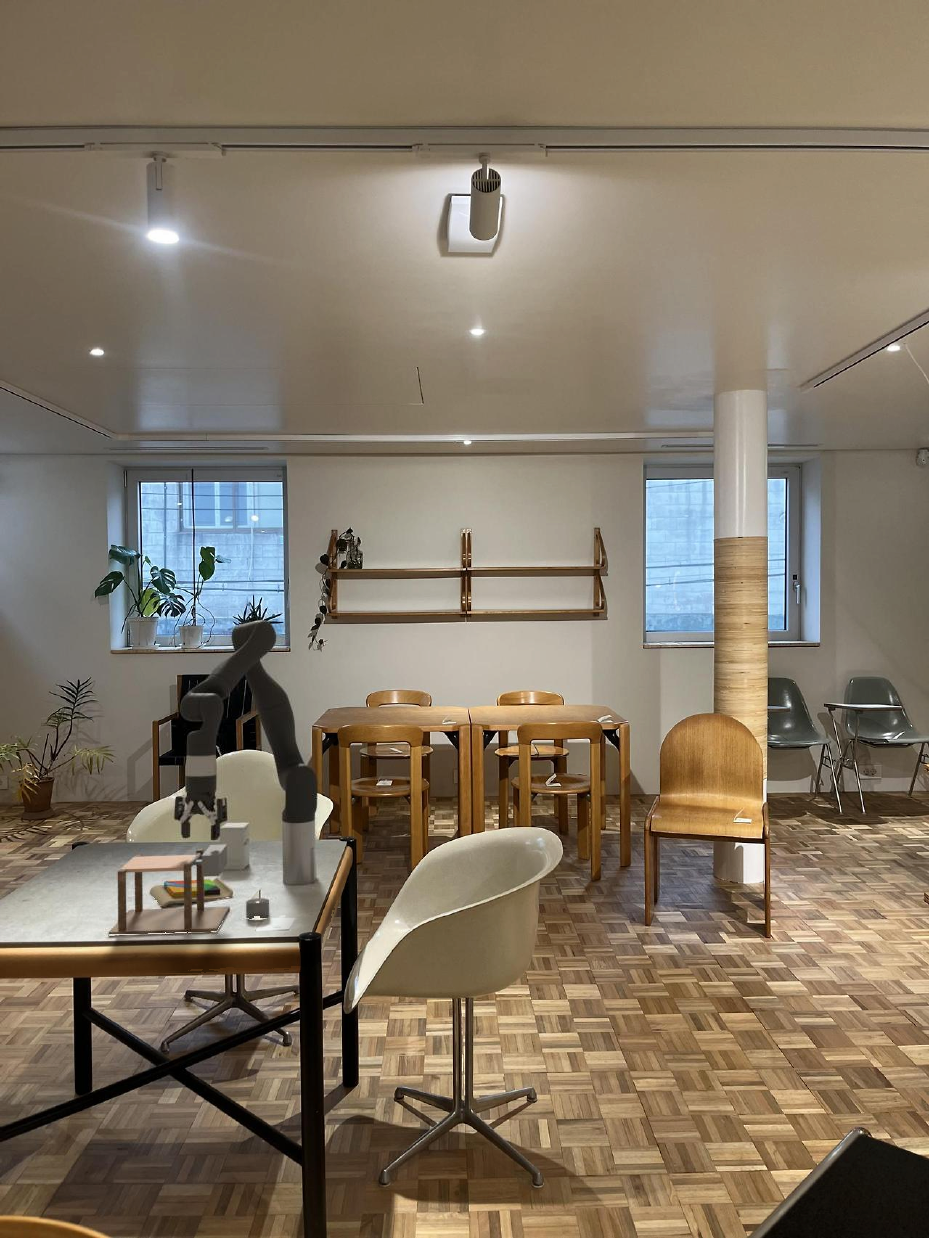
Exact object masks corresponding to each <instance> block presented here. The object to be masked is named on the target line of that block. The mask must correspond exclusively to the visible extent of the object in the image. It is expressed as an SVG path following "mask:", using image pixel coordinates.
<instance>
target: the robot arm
mask: <svg viewBox="0 0 929 1238" xmlns="http://www.w3.org/2000/svg"><path fill="white" fill-rule="evenodd" d="M275 629H276V628H274V626H273V623H270V622H269V621H268V620H261V619H259V620H255V621H250V622H245V623H243V624H240V625H239V624H238V625H236V626H235V627H234V628H233V629H232V632H231V643H232V646H233V649H234V653H232V654H230V656H228V657H226V658H225V659H224V660H222V661H221V662H220V663H219V664H218V665H217V666H216V667H215V668H214V669H213V670H212V671H211V673H210V674H209V675H208V676H207V677H206V679H205V680H203V681H202V682H200V683H199V684H198V685H196V686H195V687H193V688H192V689H190V691H187V693H186V694H185V695H184V696H183V698H182V699H181V702H180V705H179V712H180V715H181V717H182V718H183V719H184V720H186V721H189V722H203V723H202V725H201V727H200V729H199V730H196V731H195V730H194V731H191V732H189V733H188V734H187V738H186V760H185V774H184V775H185V779H184V781H185V782H184V783H185V787H184V788H185V790H184V791H185V793H186V795H184V794H182V795H181V794H180V795H177V796H175V799H174V812H173V813H174V814H173V818H174V819H173V820H175V821H179V822H180V825H181V826H180V828H181V830H180V835H181V838H183V839H188V838H191V822H190V821H191V819H193V816H195V815H200V816H205V817H206V819H207V820H209V822H210V823H211V825H210V841H217V840H219V839H220V828H221V824H222V823H224V822H225V823H226V822H227V821H228V800H227V798H226V797H225V796H224V797H220V798H219V797H218V798H217V797H216V791H217V783H218V781H217V780H218V779H217V775H218V773H217V772H218V771H217V770H218V767H217V766H218V764H217V763H218V762H217V737H218V733H219V728H220V725H221V722H222V719H223V715H224V710H225V709H224V700H225V699H227V698H228V697H229V695H230V694H231V692H232V691H233V690H234V689H235V688H236V686H237V685H238V683H239V682H240V681H241V679H242V678H243V677H244V676H245V678H246V680H247V683H248V686H249V689H250V692H251V695H252V697H253V700H254V704H255V708H256V711H257V715H258V717H259V720H260V724H261V726H262V729H263V731H264V734H265V737H266V739H267V741H268V744H269V747H270V749H271V752H272V755H273V759H274V763H275V769H276V774H277V777H278V782H279V785H280V787H281V789H282V790H283V791H284V793H285V796H284V797H285V799H284V802H285V803H284V804H285V805H284V809H283V810H282V812H281V835H282V838H281V839H282V840H281V841H282V842H281V843H282V851H281V852H282V883H284V884H285V885H294V886H295V885H296V886H297V885H298V886H299V885H305V884H306V885H308V884H310V883H311V884H314V883H316V880H317V877H318V875H317V844H316V812H317V808H318V775H317V774H316V771H315V770H314V769H313V768H312V767H311V766H309V765H307V764H305V762H304V759H303V758H302V756H301V753H300V750H299V747H298V744H297V739H296V738H297V737H296V724H295V723H296V722H295V716H294V712H293V708H292V705H291V702H290V699H289V696H288V693H287V692H286V691H285V690H284V688H283V687H282V686H281V685H280V684H279V683H278V682H277V681H276V680H275V679H274V678H272V676H271V675H270V674H269V673H268V672H267V671H266V669H265V668H264V665H263V663H262V662H261V659H262V658H264V657H265V656H266V655H267V654H268V653H269V652H271V650H272V649H273V648H274V647H275V645H276V643H277V642H276V641H277V632H276V630H275ZM186 805H187V807H185V806H186ZM215 806H216V807H215Z"/></svg>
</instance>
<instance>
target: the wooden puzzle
mask: <svg viewBox="0 0 929 1238" xmlns="http://www.w3.org/2000/svg"><path fill="white" fill-rule="evenodd" d="M149 894H150V896H151V895H152V896H153V897H154V898H155V899H154V898H153V897H152V896H151V897H152V898H153V899H154V901H155V900H157V902H158V903H159V904H160V905H161V906H162V907H164V908H166V907H167V906H168V905H171V904H173V905H174V904H184V880H168V881H167V880H166V881H164V883H163V884H159V885H158V884H157V885H154V886H153V887H151V888H150V890H149ZM233 894H234V890H233V889H232V888H231V887H229V885H227V884H226V883H225V882H224V881H223V880H221V879H220V878H219V877H216V878H214V879H213V880H211V878H204V902H209V901H208V900H213V901H218V900H217V899H220V900H223V899H222V898H226V897H231V898H232V897H233ZM226 899H227V898H226ZM157 902H156V903H157ZM158 903H157V904H158ZM192 903H197V879H192ZM159 904H158V905H159ZM165 906H166V907H165Z"/></svg>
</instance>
